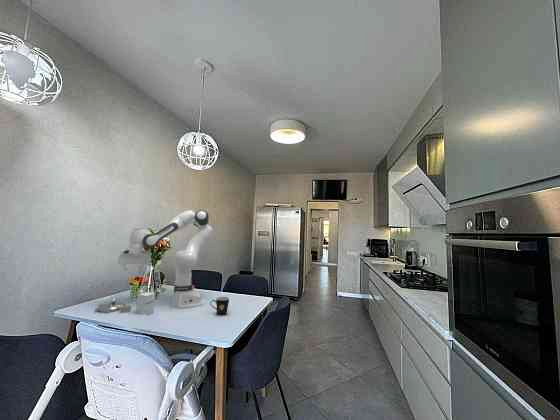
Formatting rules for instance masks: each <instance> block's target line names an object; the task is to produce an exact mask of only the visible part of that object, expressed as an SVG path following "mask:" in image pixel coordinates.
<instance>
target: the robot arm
mask: <svg viewBox="0 0 560 420" xmlns="http://www.w3.org/2000/svg"><path fill="white" fill-rule="evenodd" d="M209 216H210V215H209V213H208V212H207V211H206V210H204V209H200V210H198V211H196V212H195V211H193V210H190V209H188V210H186V211H183V212H181V213H179V214H178V215H176V216H174V217H173V218H172V219H171V220H170V221H169V222H168V224H167V225H166V226H164V227H163V228H161V229H160V230H158V231H156V232H154V233H151V232H149V231H147V230H146V229H144V228H135V229H132V230H131V233H130V235H129V236H130V237H129V246H128V248H125V249H121V251H120V253H119V255H118V258H117V261H116V262H117V265H122V267H123V268H124V271H125V272H126V271H128V267H126V265H141V266H140V267H139V271H143V268H144V267H145V264H146V265H148V264H150V263H151V257H152V251H150V250H144V247H145V248H146V249H153V248H156V247H157V246H158V245H159V243H160V241H162V240H163V239H164V238H166V237H168V236H169V235H172V234H173V233H175V232H178V231H181V230H183V229H185V228H186V227H188V226H189V225H191V224H193V225H194V226H195V227H197V228H198V229H197V231H196V232H195V233H194V234H193V236H192V237H191V239H190V240H189V241H188V243H187V246H186V248H185V249H184V250H183V249H181V250H177V251H176V252H175V253H174V255H173V260H174V268H175V269H174V271H175V279H174V280H175V281H174V286H173V296H172V297H173V298H172V300H171V304H170V306H171V307H173V308H179V309H185V308H192V307H200V306H203V305H204V300H203V299H201V294H200V293H199V292H198V291H196V290H195V285H194V284H192V275H193V274H192V270H191V267H193V266H195V265H197V262H198V257H199V255H200V252H201V250H202V249H203V248H204V246H205V245H206V243H207V242H208V241H209V239H210V238H211V236H212V234H213V232H214V229H213V227H211V226H210V225H209V224H210V217H209Z"/></svg>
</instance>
